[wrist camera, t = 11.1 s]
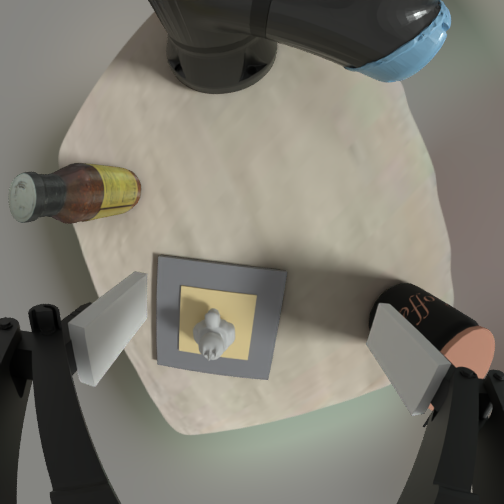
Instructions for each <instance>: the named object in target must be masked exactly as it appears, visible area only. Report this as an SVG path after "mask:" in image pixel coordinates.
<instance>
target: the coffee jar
mask: <svg viewBox="0 0 504 504" xmlns="http://www.w3.org/2000/svg"><path fill="white" fill-rule="evenodd" d="M379 303H385V304H390V305H391V306H393V307H394V308H395V309H396V310H397V311H398V312H399V313H400V314H401V315H402V316H403V317H404V318H405V319H406V320H407V321H409V322H410V323H411V324H412V325H413V326H414V327H415V328H416V329H417V330H418V331H419V332H420V333H421V334H422V335H423V336H424V337H425V338H426V339H427V340H428V341H429V342H430V343H431V344H432V345H434V346H435V347H436V348H437V349H438V350H439V351H440V352H441V353H442V354H443V355H444V356H445V357H446V358H447V359H448V360H449V361H450V362H451V363H452V364H453V365H454V366H455V367H456V368H457V367H467V368H469V369H471V370H473V371H474V372H475V373H476V374H477V376H478V378H481V379H483V378H484V377H485V375H486V373H487V372H488V370H489V367H490V364H491V362H492V359H493V356H494V350H495V342H494V337H493V335H492V333H491V332H490V330H488V329H486V328H483V327H481V326H479V325H478V324H477V322H476V321H475V320H473V319H471V318H470V317H468V316H467V315H465V314H463V313H462V312H460V311H458V310H456V309H455V308H453V307H452V306H450V305H448V304H447V303H445V302H443V301H442V300H440V299H438V298H437V297H435V296H433V295H432V294H430V293H428V292H426V291H425V290H423V289H421V288H419V287H418V286H415V285H413V284H399V285H396V286H394V287H391V288H390V289H388V290H387V291H386V292H384V293H383V294H382V295H381V296H380V297H379V299H378V300H377V301H376V302H375V304H374V307H373V309H372V311H371V314H370V320H369V328H370V331H371V328H372V324H373V321H374V318H375V315H376V311H377V308H378V304H379ZM428 408H429V409H431V410H432V411H433V409H434V407H433V406H432V404H431V403H430V405H429V407H428Z"/></svg>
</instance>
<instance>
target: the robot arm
mask: <svg viewBox="0 0 504 504" xmlns="http://www.w3.org/2000/svg"><path fill="white" fill-rule="evenodd" d="M148 1H149V2H150V4H151V6H152V7H153V9H154V11H155V13H156V14H157V16H158V18H159V19H160V21H161V23H162V25H163V26H164V28H165V30H166V32H167V33H168V39H167V51H166V52H167V59H168V63H169V65H170V67H171V69H172V71H173V72H174V74H175V75H176V77H177V78H178V79H179V80H180V81H181V82H182V83H183V84H185V85H186V86H188V87H190V88H192V89H194V90H197V91H200V92H204V93H212V94H223V93H231V92H235V91H239V90H242V89H245V88H247V87H249V86H251V85H253V84H255V83H256V82H258V81H259V80H260V79H262V78H263V77H264V76H265V75H266V74H267V73H268V71H269V70H270V69H271V67H272V65H273V63H274V61H275V57H276V52H277V42H278V43H281V44H285V45H288V46H291V47H294V48H297V49H300V50H303V51H306V52H309V53H311V54H314V55H317V56H319V57H322V58H325V59H327V60H330V61H332V62H334V63H337V64H339V65H342V66H343V67H344V68H345V69H347V70H350V71H357V72H360V73H362V74H364V75H367V76H369V77H371V78H374V79H376V80H378V81H381V82H395V81H401V80H404V79H406V78H408V77H410V76H412V75H414V74H415V73H417V72H418V71H419V70H421V69H422V68H423V67H424V66H425V65H426V64H427V63H428V62H429V61H430V60H431V59H432V58H433V57H434V56H435V54H436V53H437V52H438V51H439V49H440V48H441V47H442V45H443V43H444V41H445V39H446V37H447V34H446V31H447V30H448V29H449V28H450V24H451V16H450V12H449V10H448V9H447V7H446V6H445V4H444V3H443V2H442V1H441V0H148ZM28 314H29V320H30V325H31V329H32V332H27V331H21V330H20V326H19V322H18V321H17V320H16V319H14V318H6V317H5V318H1V319H0V504H17V496H16V495H17V470H18V458H19V449H20V441H21V433H22V428H23V422H24V416H25V411H26V406H27V401H28V397H29V393H30V388H31V384H32V380H33V387H34V397H35V407H36V414H37V421H38V428H39V433H40V438H41V444H42V448H43V453H44V457H45V462H46V466H47V469H48V473H49V476H50V479H51V483H52V487H53V491H52V492H50V499H51V503H52V504H121V502H120V501H119V499H118V497H117V495H116V493H115V491H114V489H113V487H112V485H111V483H110V481H109V479H108V477H107V475H106V473H105V470H104V468H103V466H102V464H101V461H100V459H99V457H98V454H97V452H96V449H95V447H94V444H93V442H92V439H91V437H90V434H89V431H88V428H87V425H86V422H85V419H84V416H83V413H82V410H81V407H80V404H79V400H78V396H77V393H76V389H75V385H74V381H73V378H72V375H73V374H74V373H75V372H76V371H77V373H78V377H79V381H80V382H82V383H85V384H88V385H91V386H93V387H95V386H96V385H97V384H98V382H99V381H100V380H101V378H102V377H103V375H104V374H105V373H106V371H107V370H108V369H109V367H110V366H111V365H112V363H113V362H114V361H115V359H116V358H117V357H118V355H119V354H120V353H121V351H122V350H123V349H124V347H125V346H126V345H127V344H128V342H129V341H130V340H131V338H132V337H133V336H134V334H135V333H136V332H137V331H138V329H139V328H140V327H141V325H142V324H143V323H144V322H145V320H146V319H147V273H142V272H136V271H135V272H133V273H132V274H131V275H129V276H128V277H127V278H125V279H124V280H123V281H121V282H120V283H119V284H117V285H116V286H115V287H113V288H112V289H111V290H109V291H108V292H107V293H105V294H104V295H103V296H101V297H100V298H99V299H98V300H96V301H95V302H94V303H87V304H84V305H81V306H80V307H79V308H77V309H76V310H75V311H74V312H72V313H71V314H70V315H68V316H67V317H65V318H64V319H63V320H62V321H61V319H60V312H59V309H58V307H56V306H55V305H51V304H40V305H36V306H34V307H32V308H31V309H30V310H29V312H28ZM366 345H367V346H368V348H369V349H370V351H371V352H372V354H373V355H374V357H375V358H376V360H377V362H378V363H379V365H380V366H381V368H382V369H383V371H384V372H385V374H386V375H387V377H388V379H389V380H390V382H391V383H392V385H393V386H394V388H395V389H396V391H397V393H398V394H399V396H400V398H401V399H402V401H403V402H404V404H405V406H406V407H407V409H408V411H409V412H410V414H411V416H414V415H419V414H424V413H425V412H426V410H427V408H428V407H429V405H430V403H431V404H432V406H433V407H434V409H433V411H432V413H431V415H430V416H429V417H428V419H427V421H426V422H425V424H424V425H423V427H425V426H426V425H427V428H426V431H425V434H424V437H423V440H422V443H421V446H420V449H419V452H418V455H417V458H416V461H415V463H414V466H413V468H412V471H411V473H410V476H409V478H408V481H407V483H406V485H405V487H404V489H403V492H402V494H401V496H400V498H399V500H398V502H397V504H504V374H503V372H501V371H499V370H490V371H489V372H488V374H487V376H486V378H485V379H481V378H478V376H477V374H476V373H475V372H474V371H473V370H471V369H469V368H467V367H457V368H456V367H455V366H454V365H453V364H452V363H451V362H450V361H449V360H448V359H447V358H446V357H445V356H444V355H443V354H442V353H441V352H440V351H439V350H438V349H437V348H436V347H435V346H434V345H432V344H431V343H430V342H429V341H428V340H427V339H426V338H425V337H424V336H423V335H422V334H421V333H420V332H419V331H418V330H417V329H416V328H415V327H414V326H413V325H412V324H411V323H410V322H409V321H407V320H406V319H405V318H404V317H403V316H402V315H401V314H400V313H399V312H398V311H397V310H396V309H395V308H394V307H393V306H391V305H390V304H385V303H379V304H378V308H377V311H376V315H375V318H374V321H373V324H372V328H371V331H370V334H369V337H368V340H367V343H366ZM491 410H492V413H491V415H490V417H489V418H488V415H489V413H490V412H491ZM471 486H472V490H473V493H471Z"/></svg>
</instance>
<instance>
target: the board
mask: <svg viewBox="0 0 504 504" xmlns="http://www.w3.org/2000/svg"><path fill="white" fill-rule="evenodd" d="M286 277H287V271H286V270H278V269H269V268H261V267H252V266H244V265H236V264H228V263H220V262H212V261H204V260H196V259H189V258H181V257H173V256H166V255H160V256H158V274H157V364H158V365H163V366H168V367H174V368H179V369H185V370H190V371H197V372H203V373H210V374H217V375H225V376H233V377H242V378H252V379H263V380H268V378H269V373H270V368H271V363H272V357H273V352H274V347H275V341H276V336H277V330H278V325H279V319H280V313H281V307H282V301H283V295H284V289H285V283H286ZM211 308H215V309H217V310H218V311H219V313H220V318H222V319H224V320H226V321H227V322H230V323H232V324H233V325H234V327H235V340H234V342H233V343H232V344H231V345H230V346H229V347H228V349H227V350H226V351H224V352H223V354H222V355H221V356H220V357H219V358H218V359H216V360H210V361H208V359H207V358H205V357H204V356H203V355H202V354H201V353H200V352H199V347H198V344H197V343H196V342H195V340H194V337H193V328H194V326H195V325H196V324H197V323H199V322H201V321H202V320H204V319H205V314H206V313H207V312H208V311H209V310H210V309H211Z"/></svg>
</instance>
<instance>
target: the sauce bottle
mask: <svg viewBox="0 0 504 504" xmlns="http://www.w3.org/2000/svg"><path fill="white" fill-rule="evenodd" d="M140 195H141V184H140V181H139V179H138V177H137V176H136V175H135V174H134V173H133V172H132V171H130V170H127V169H124V168H120V167H112V166H104V165H95V164H86V163H74V164H70V165H68V166H66V167H64V168H62V169H60V170H58V171H56V172H54V173H52V174H48V175H47V174H45V175H44V174H37V173H35V172H25V173H21V174H19V175H18V176H17V177H16V178H15V179H14V180H13V182H12V183H11V186H10V190H9V207H10V211H11V214H12V215H13V217H14V218H15V219H16V220H17V221H18V222H21V223H25V222H31V221H35V220H36V219H37V218H38V217H44V216H48V217H53V218H55V219H56V220H59V221H61V222H63V223H68V224H71V223H77V222H80V221H82V222H84V221H89V220H94V219H98V218H103V217H108V216H112V215H117V214H122V213H125V212H127V211H128V210H130V209H132V208H133V207H134V206H135V205H136V204H137V203H138V201H139V198H140Z"/></svg>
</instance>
